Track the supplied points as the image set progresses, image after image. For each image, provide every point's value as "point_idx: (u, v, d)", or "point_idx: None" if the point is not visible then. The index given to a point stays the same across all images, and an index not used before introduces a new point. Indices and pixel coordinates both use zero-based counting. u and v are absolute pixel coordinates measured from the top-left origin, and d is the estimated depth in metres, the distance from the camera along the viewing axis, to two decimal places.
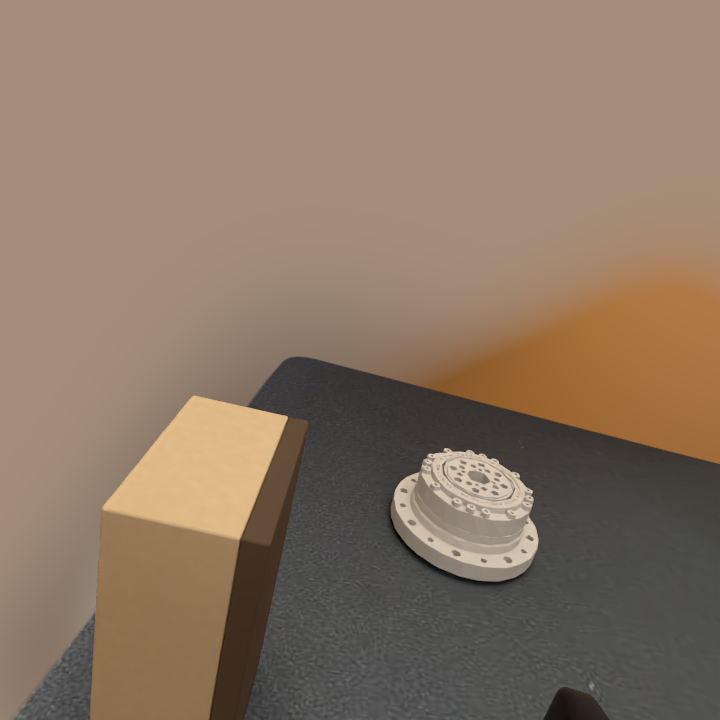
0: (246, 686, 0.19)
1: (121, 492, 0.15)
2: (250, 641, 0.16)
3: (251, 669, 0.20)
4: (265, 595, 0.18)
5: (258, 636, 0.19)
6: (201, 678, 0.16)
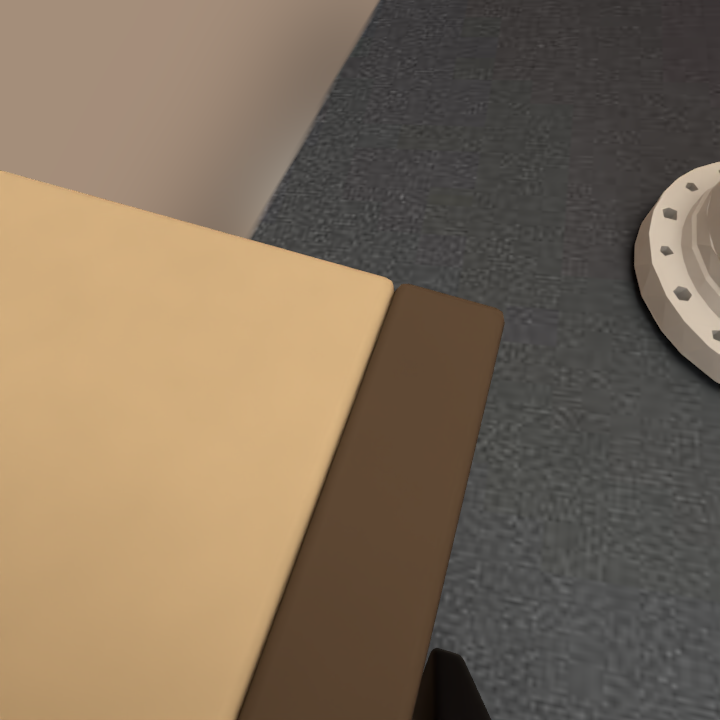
0: None
1: None
2: None
3: None
4: None
5: None
6: None
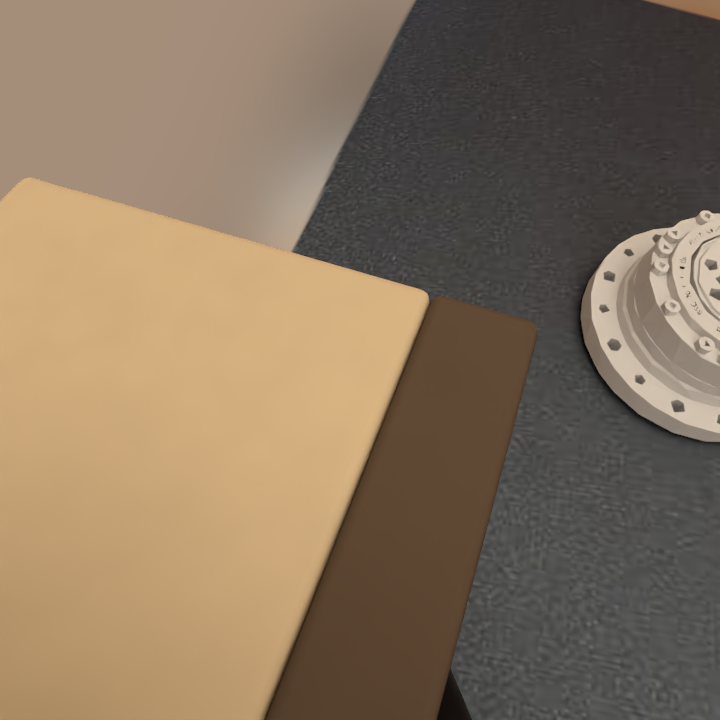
0: None
1: None
2: None
3: None
4: None
5: None
6: None
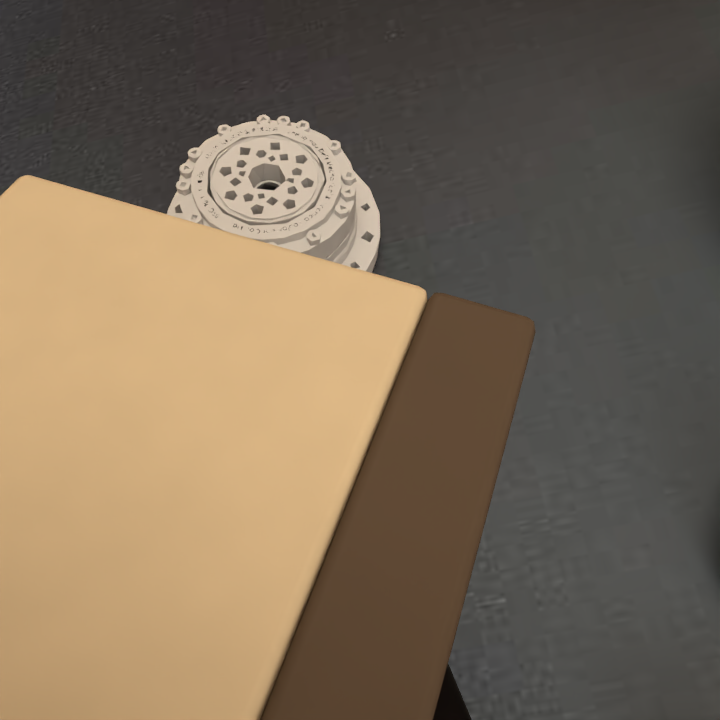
0: None
1: None
2: None
3: None
4: None
5: None
6: None
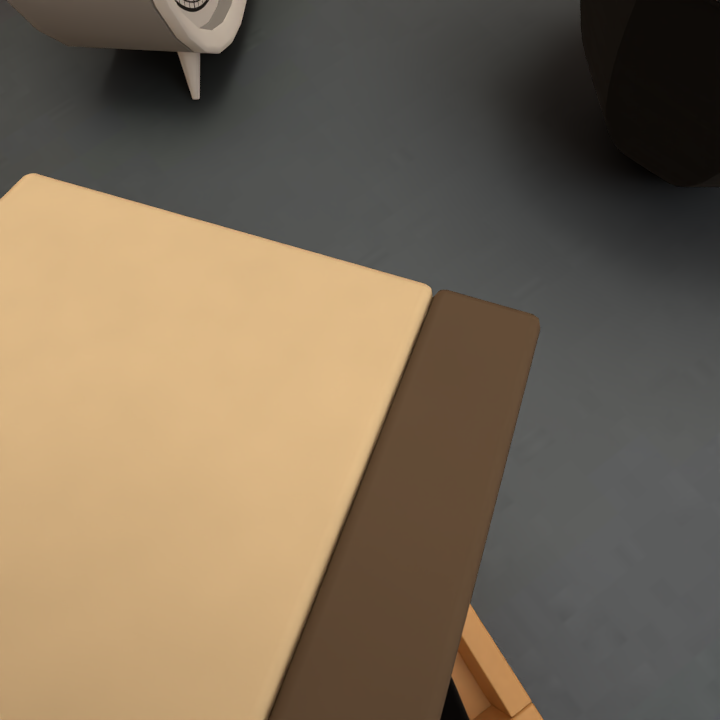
0: None
1: None
2: None
3: None
4: None
5: None
6: None
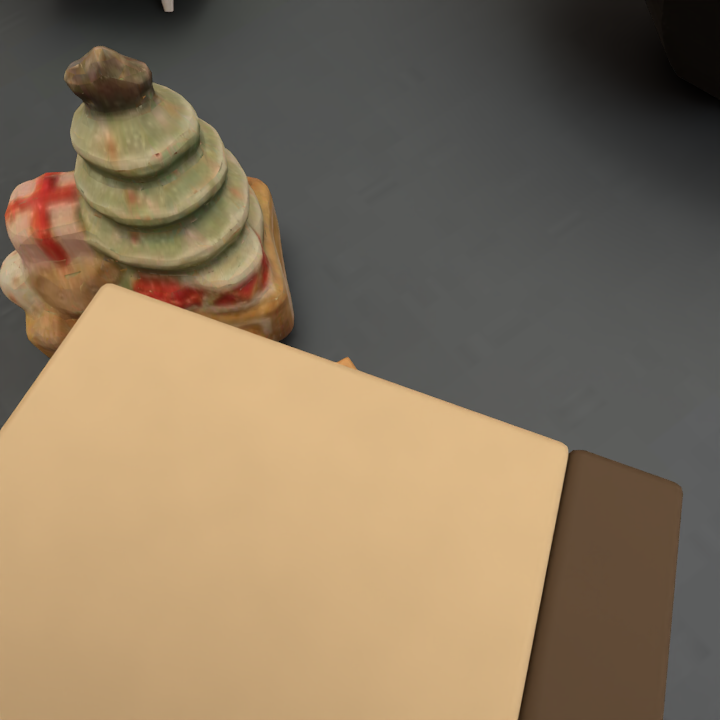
0: None
1: None
2: None
3: None
4: None
5: None
6: None
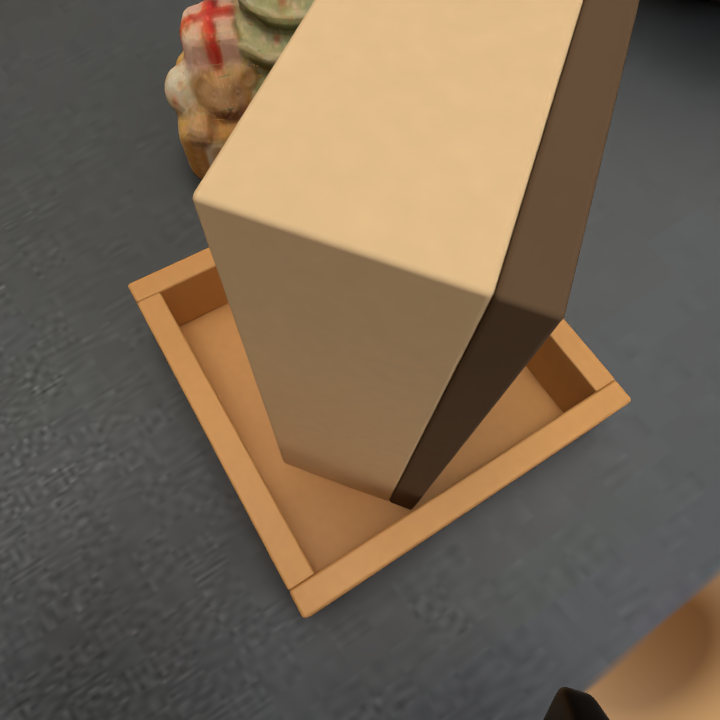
0: None
1: (232, 155, 0.07)
2: (484, 417, 0.09)
3: None
4: None
5: None
6: (402, 427, 0.11)
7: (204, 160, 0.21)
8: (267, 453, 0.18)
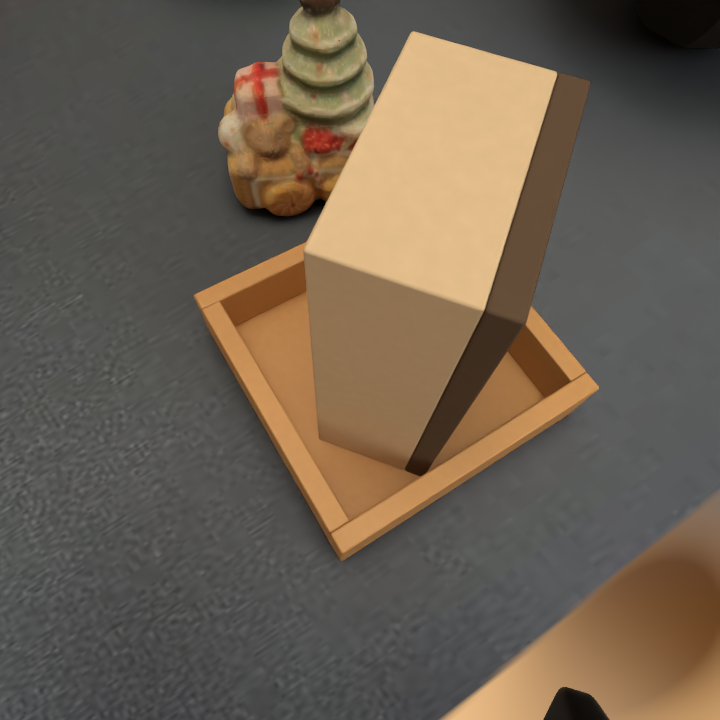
0: None
1: (325, 223, 0.11)
2: (480, 391, 0.14)
3: None
4: None
5: None
6: (421, 401, 0.15)
7: (249, 190, 0.26)
8: (305, 432, 0.23)
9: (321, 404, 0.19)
